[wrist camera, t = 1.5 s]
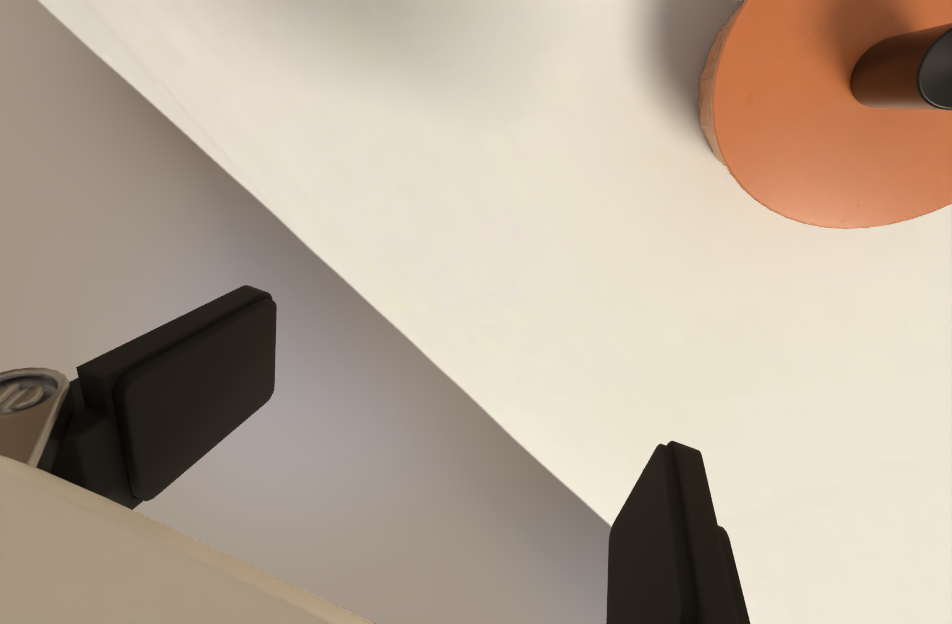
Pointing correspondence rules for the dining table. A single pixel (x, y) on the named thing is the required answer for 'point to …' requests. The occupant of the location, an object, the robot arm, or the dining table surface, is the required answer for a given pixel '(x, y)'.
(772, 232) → the dining table surface
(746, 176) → the lid
